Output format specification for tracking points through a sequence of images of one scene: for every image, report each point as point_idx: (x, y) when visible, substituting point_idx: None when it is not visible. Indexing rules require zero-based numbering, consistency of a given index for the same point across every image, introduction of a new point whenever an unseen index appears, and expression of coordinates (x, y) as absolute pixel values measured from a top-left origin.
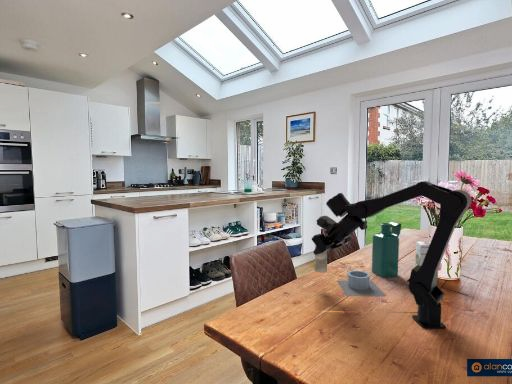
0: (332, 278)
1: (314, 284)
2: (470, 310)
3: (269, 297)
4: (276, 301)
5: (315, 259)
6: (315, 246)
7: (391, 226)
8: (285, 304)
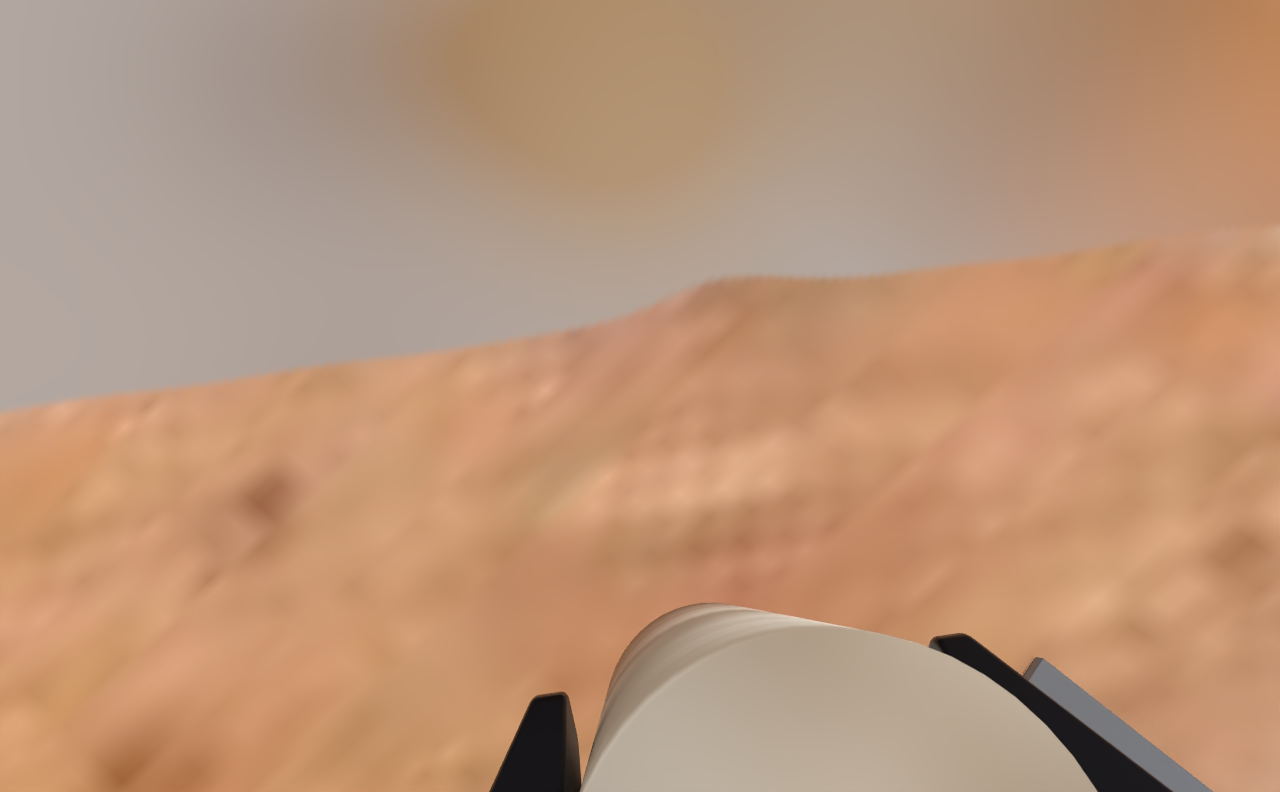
0: (1071, 549)
1: (724, 538)
2: None
3: (42, 477)
4: (12, 604)
5: (607, 698)
6: (595, 764)
7: None
8: (17, 730)
